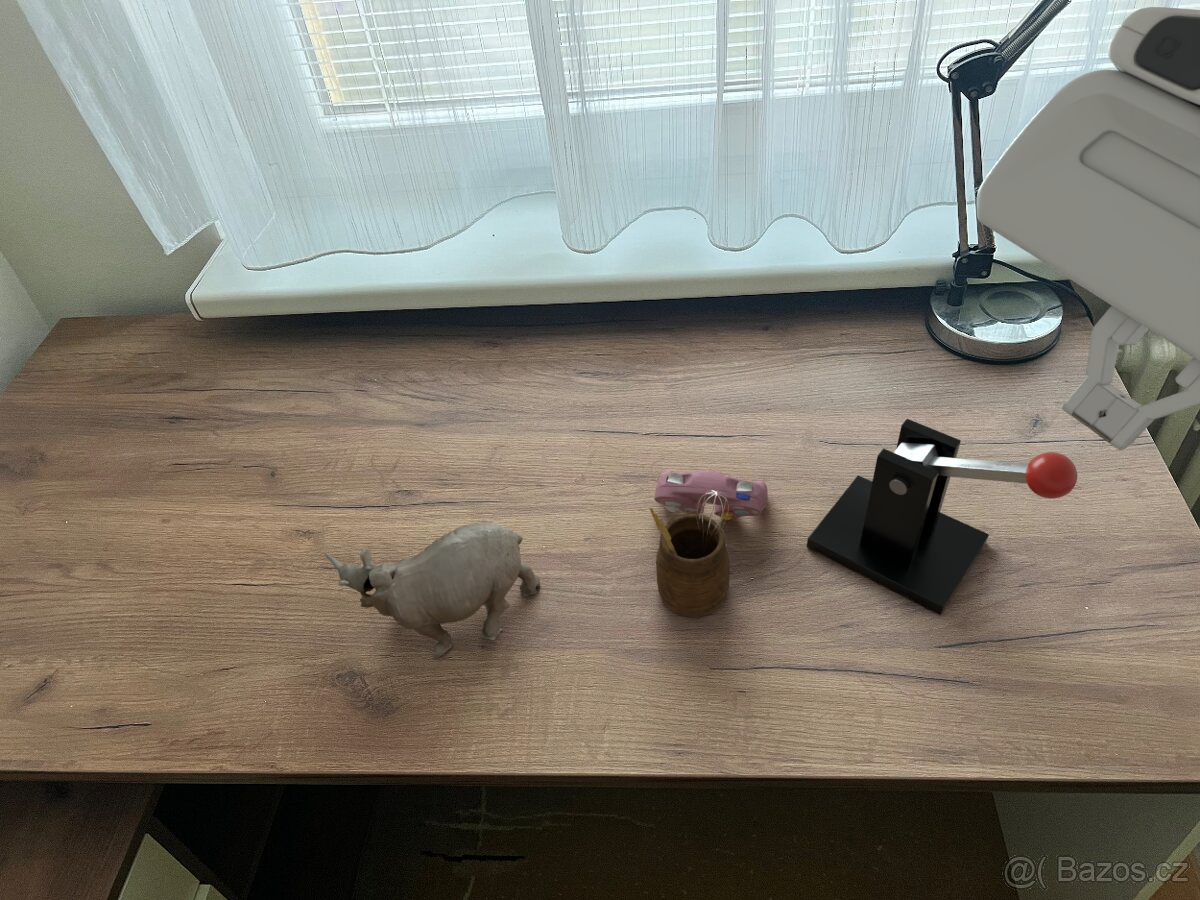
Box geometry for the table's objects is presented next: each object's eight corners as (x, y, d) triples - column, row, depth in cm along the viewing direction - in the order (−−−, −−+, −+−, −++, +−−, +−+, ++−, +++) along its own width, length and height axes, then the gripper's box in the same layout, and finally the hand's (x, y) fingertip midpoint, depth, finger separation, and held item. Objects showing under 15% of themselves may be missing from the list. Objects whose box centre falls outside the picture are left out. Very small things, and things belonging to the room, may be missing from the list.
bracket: (986, 543, 74) (1021, 444, 66) (940, 615, 69) (972, 519, 61) (856, 483, 80) (873, 386, 72) (806, 547, 75) (819, 450, 67)
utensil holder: (743, 598, 72) (749, 502, 64) (679, 634, 70) (676, 539, 62) (702, 551, 76) (703, 454, 67) (641, 583, 74) (633, 488, 66)
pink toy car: (656, 520, 81) (646, 501, 74) (663, 473, 82) (654, 450, 76) (764, 534, 79) (764, 515, 72) (770, 485, 80) (770, 463, 73)
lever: (1087, 481, 60) (1080, 444, 59) (1071, 510, 59) (1063, 472, 57) (912, 466, 70) (902, 434, 69) (894, 491, 69) (883, 458, 67)
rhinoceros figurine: (575, 626, 68) (430, 532, 61) (455, 705, 73) (306, 627, 66) (568, 554, 75) (435, 460, 67) (457, 631, 79) (322, 552, 72)
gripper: (1690, 293, 29) (1338, 584, 35) (1131, 36, 38) (938, 302, 45) (1747, 282, 24) (1329, 620, 31) (1095, -7, 34) (885, 297, 40)
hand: (1093, 428), depth 38 cm, fingers closed
